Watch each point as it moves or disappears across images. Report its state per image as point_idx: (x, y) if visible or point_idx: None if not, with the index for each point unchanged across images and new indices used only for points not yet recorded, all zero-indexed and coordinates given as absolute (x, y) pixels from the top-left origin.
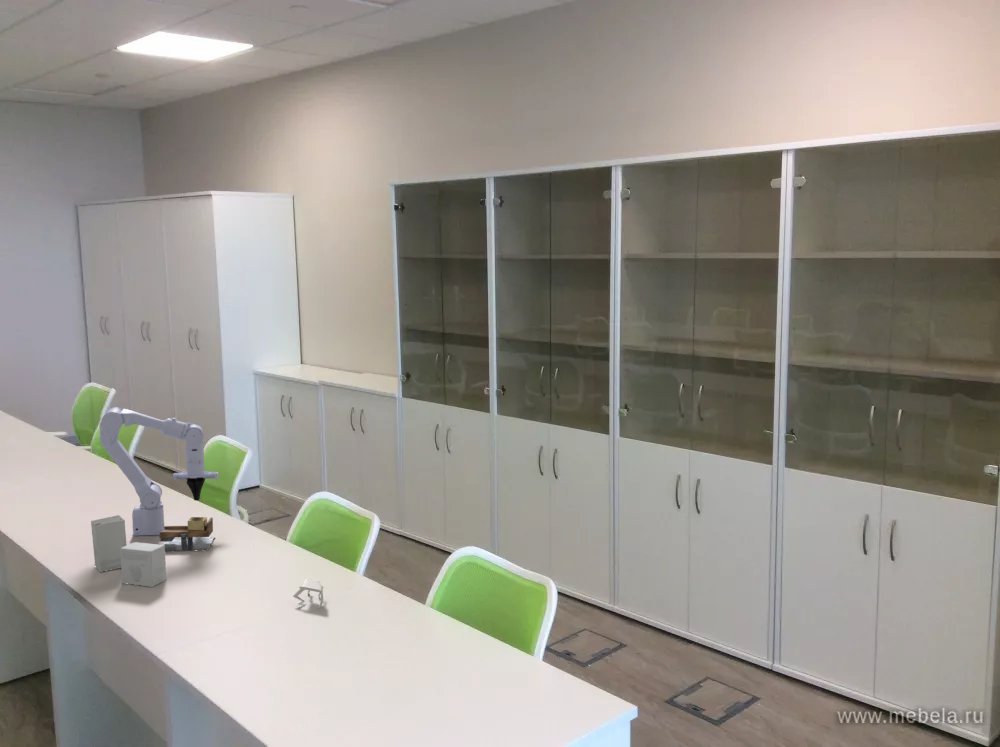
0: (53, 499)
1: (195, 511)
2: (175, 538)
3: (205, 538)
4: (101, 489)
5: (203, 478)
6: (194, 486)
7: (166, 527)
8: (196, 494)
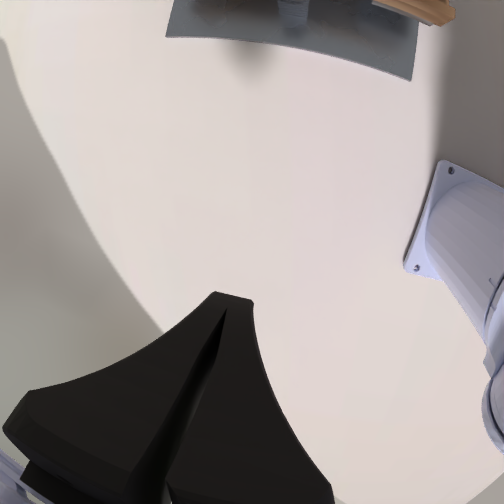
0: (497, 458)
1: None
2: (374, 61)
3: (212, 18)
4: (426, 490)
5: (23, 475)
6: (195, 422)
7: (441, 5)
8: (207, 325)
